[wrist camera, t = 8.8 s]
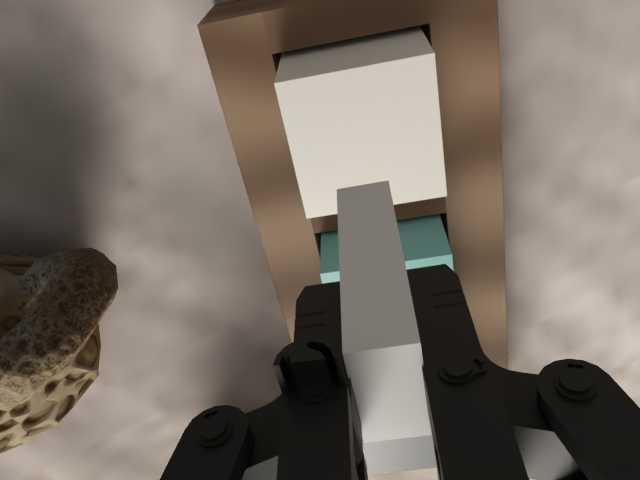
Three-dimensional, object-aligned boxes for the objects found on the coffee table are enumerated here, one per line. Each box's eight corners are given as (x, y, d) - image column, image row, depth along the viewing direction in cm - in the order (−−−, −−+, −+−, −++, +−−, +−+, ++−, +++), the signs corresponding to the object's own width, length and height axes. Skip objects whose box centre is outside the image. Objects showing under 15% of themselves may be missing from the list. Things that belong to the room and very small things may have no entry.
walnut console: (214, 5, 27) (197, 25, 24) (474, -49, 26) (496, -36, 22) (325, 409, 42) (325, 456, 38) (494, 388, 40) (509, 436, 37)
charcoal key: (349, 342, 35) (351, 406, 31) (448, 329, 35) (464, 393, 31) (364, 408, 39) (368, 474, 34) (455, 397, 38) (470, 463, 34)
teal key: (321, 218, 31) (320, 273, 26) (435, 200, 30) (451, 254, 26) (341, 305, 34) (342, 367, 30) (444, 290, 33) (460, 351, 29)
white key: (283, 48, 26) (274, 83, 22) (417, 21, 25) (434, 53, 21) (310, 167, 29) (306, 218, 25) (429, 147, 28) (447, 196, 24)
